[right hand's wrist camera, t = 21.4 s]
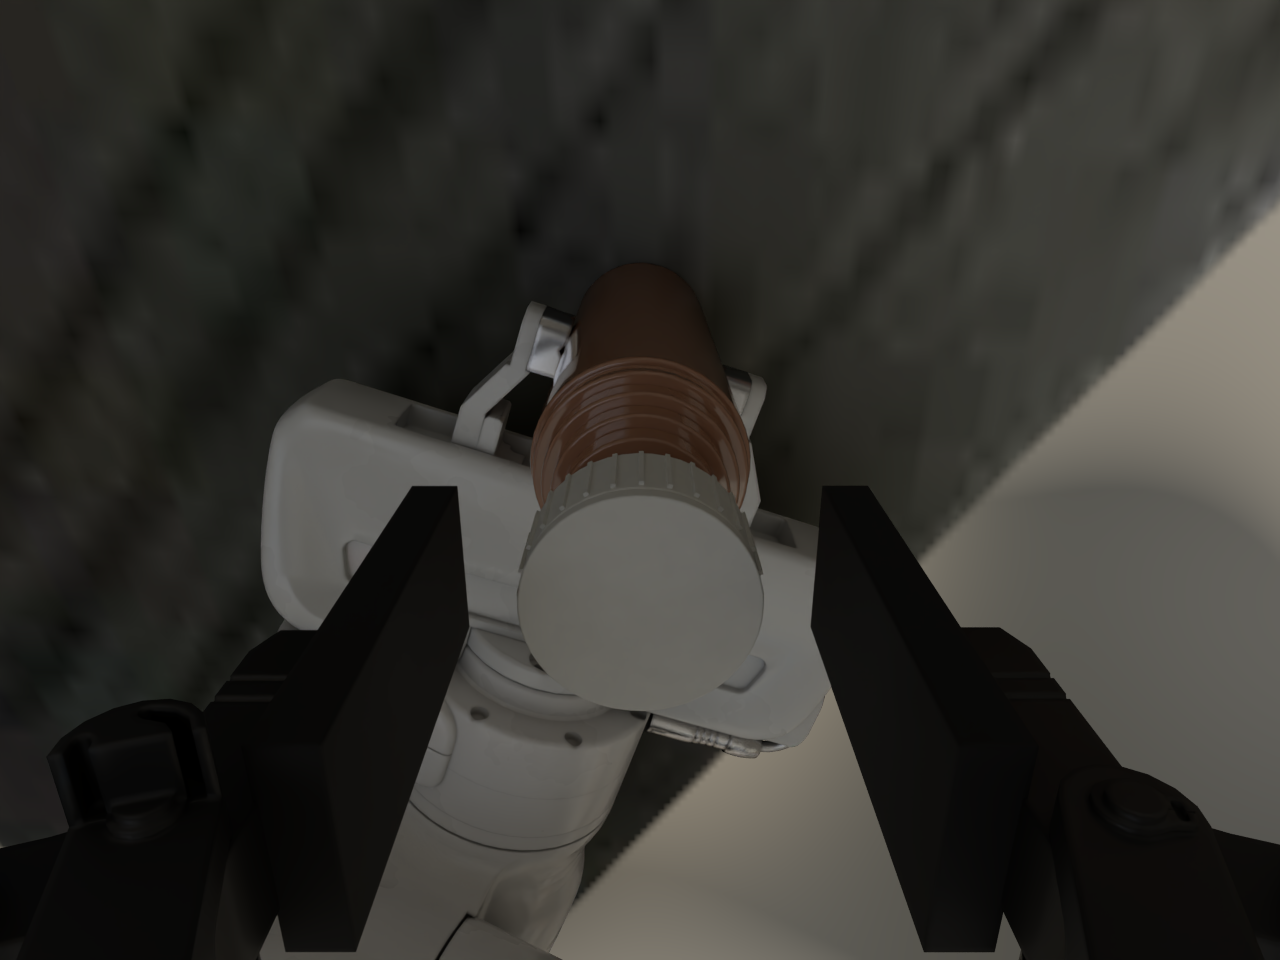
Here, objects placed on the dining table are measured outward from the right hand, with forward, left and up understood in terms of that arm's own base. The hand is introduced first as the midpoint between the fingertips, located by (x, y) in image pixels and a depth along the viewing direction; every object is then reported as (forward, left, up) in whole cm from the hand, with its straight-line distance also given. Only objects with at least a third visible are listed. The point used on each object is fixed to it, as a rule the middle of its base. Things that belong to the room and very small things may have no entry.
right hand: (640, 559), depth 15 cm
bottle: (0, 0, -19) cm, 19 cm away
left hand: (0, -1, -13) cm, 13 cm away
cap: (0, 0, +1) cm, 1 cm away
